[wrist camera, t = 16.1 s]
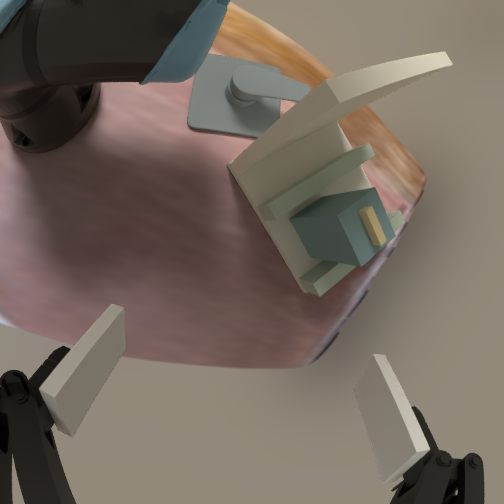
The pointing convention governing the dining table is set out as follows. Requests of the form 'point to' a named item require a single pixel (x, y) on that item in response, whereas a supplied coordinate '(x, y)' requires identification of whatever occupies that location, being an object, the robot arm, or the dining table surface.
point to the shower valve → (239, 96)
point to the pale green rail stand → (319, 160)
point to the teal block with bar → (344, 227)
